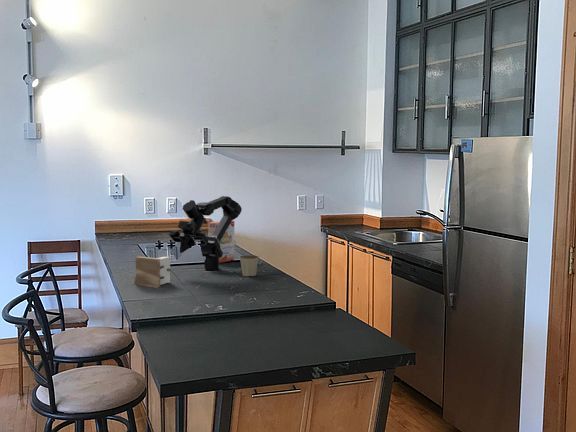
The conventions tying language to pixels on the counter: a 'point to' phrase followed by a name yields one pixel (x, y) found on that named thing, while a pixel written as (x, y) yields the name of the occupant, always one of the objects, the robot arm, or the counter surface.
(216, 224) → the cracker box
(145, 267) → the cabinet corner
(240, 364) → the counter surface
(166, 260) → the door panel
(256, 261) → the flower pot
